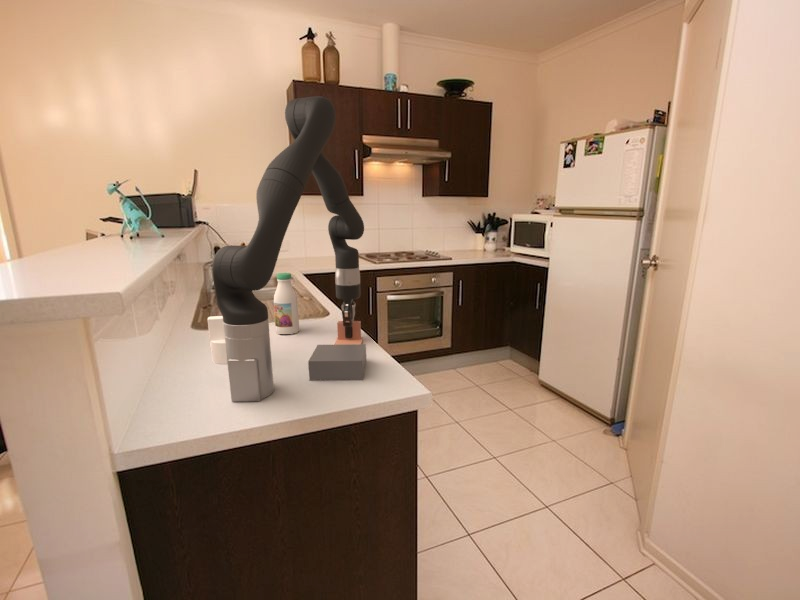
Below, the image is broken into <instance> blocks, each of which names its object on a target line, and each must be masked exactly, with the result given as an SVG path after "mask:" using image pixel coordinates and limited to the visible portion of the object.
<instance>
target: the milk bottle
mask: <svg viewBox="0 0 800 600" xmlns="http://www.w3.org/2000/svg"><path fill="white" fill-rule="evenodd" d="M276 281H277V286H276V289H275V292H274V294H273V311H274V312H273V314H274V326H275V333H276V334H277V333H278V334H277V335H279V334H291V335H294V334H293V333H295V334H297V333H299V332H300V321H299V320H300V317H299V304H298V303H299V302H298V296H297V294H296V291H295V290H294V286H293V284H292V274H291V273H290V272H280V273H276ZM298 331H299V332H298Z"/></svg>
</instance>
